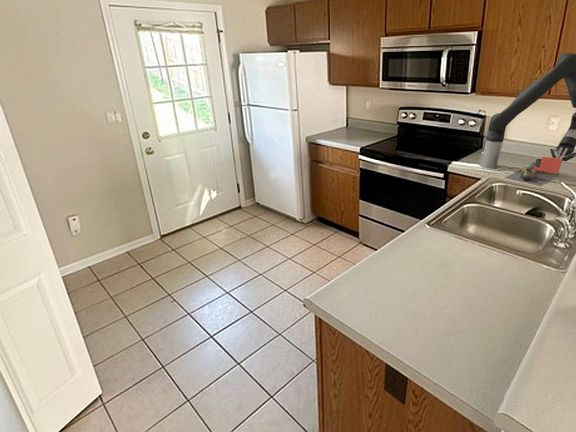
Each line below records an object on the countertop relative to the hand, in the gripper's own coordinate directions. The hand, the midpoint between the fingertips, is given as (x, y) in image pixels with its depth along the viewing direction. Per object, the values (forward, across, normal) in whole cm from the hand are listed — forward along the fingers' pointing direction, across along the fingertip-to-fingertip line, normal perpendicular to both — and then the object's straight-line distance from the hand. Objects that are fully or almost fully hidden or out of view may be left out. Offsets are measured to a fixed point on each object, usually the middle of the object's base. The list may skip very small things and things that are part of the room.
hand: (555, 165), depth 200 cm
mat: (+9, -10, +5) cm, 14 cm away
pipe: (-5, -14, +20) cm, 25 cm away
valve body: (+8, -12, +4) cm, 15 cm away
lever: (+4, -6, +1) cm, 7 cm away
